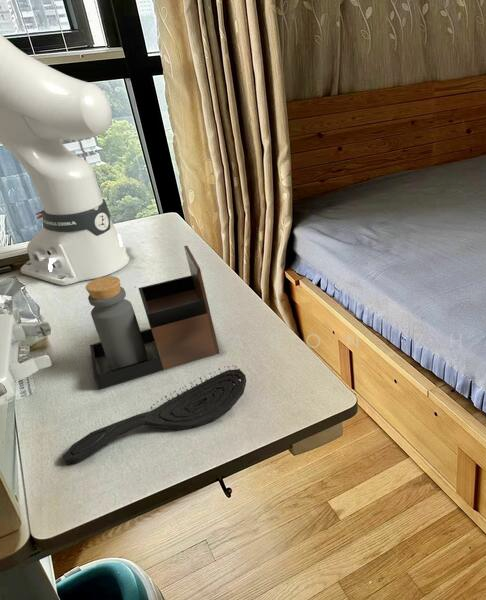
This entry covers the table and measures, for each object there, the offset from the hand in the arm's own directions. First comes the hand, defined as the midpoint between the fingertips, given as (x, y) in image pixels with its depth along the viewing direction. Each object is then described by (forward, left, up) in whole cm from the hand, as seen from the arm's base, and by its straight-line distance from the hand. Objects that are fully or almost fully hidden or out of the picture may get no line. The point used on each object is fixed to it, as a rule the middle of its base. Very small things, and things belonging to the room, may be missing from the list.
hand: (50, 342), depth 82 cm
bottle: (+7, +6, -8) cm, 12 cm away
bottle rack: (+10, +9, -7) cm, 15 cm away
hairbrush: (+21, -4, -8) cm, 23 cm away
